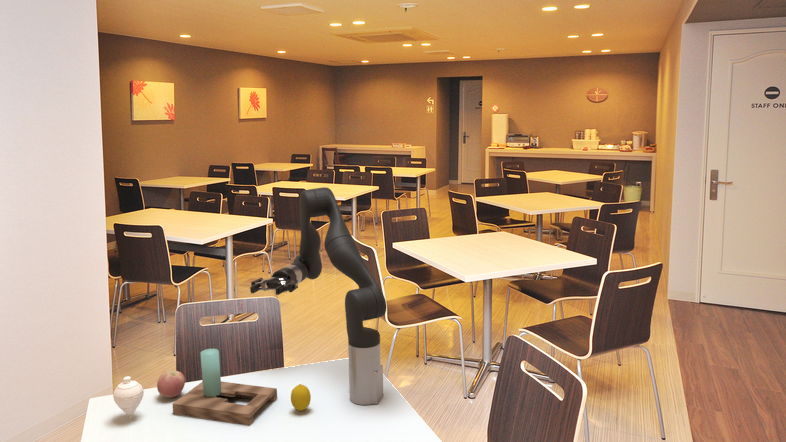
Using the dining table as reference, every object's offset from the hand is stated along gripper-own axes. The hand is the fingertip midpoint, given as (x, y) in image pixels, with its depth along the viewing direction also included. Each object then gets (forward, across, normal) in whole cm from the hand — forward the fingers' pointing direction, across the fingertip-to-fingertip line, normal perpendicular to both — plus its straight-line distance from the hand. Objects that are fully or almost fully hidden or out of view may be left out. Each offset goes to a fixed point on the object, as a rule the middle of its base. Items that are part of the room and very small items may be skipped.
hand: (264, 291), depth 184 cm
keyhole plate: (+20, -3, +29) cm, 35 cm away
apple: (+19, -22, +29) cm, 41 cm away
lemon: (+17, +19, +29) cm, 39 cm away
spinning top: (+33, -25, +29) cm, 50 cm away
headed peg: (+20, -8, +29) cm, 36 cm away
